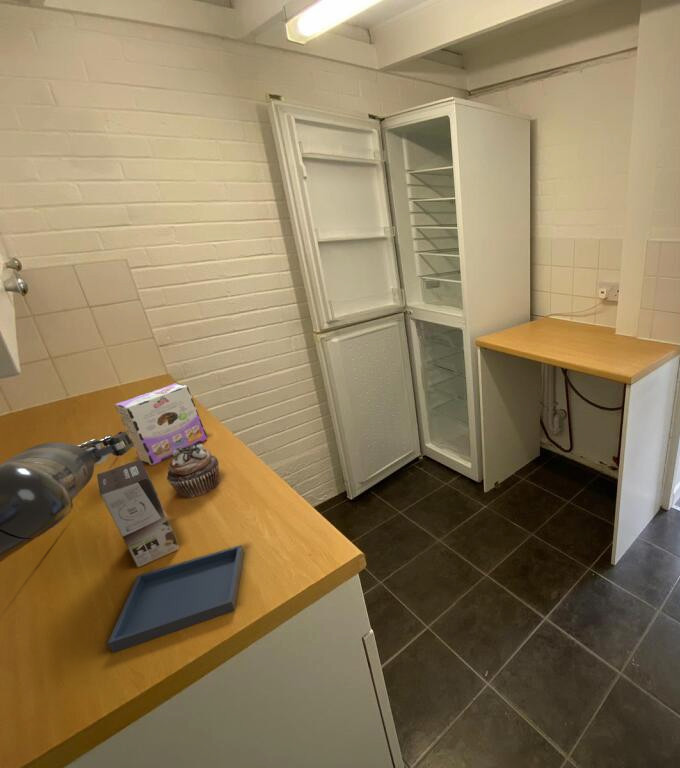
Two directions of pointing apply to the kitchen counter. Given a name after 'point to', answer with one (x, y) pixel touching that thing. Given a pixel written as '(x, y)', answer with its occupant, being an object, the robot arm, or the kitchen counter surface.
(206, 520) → the kitchen counter surface
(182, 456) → the cupcake
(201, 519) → the kitchen counter surface
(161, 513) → the coffee box
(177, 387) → the candy box
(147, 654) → the kitchen counter surface
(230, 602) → the tray
